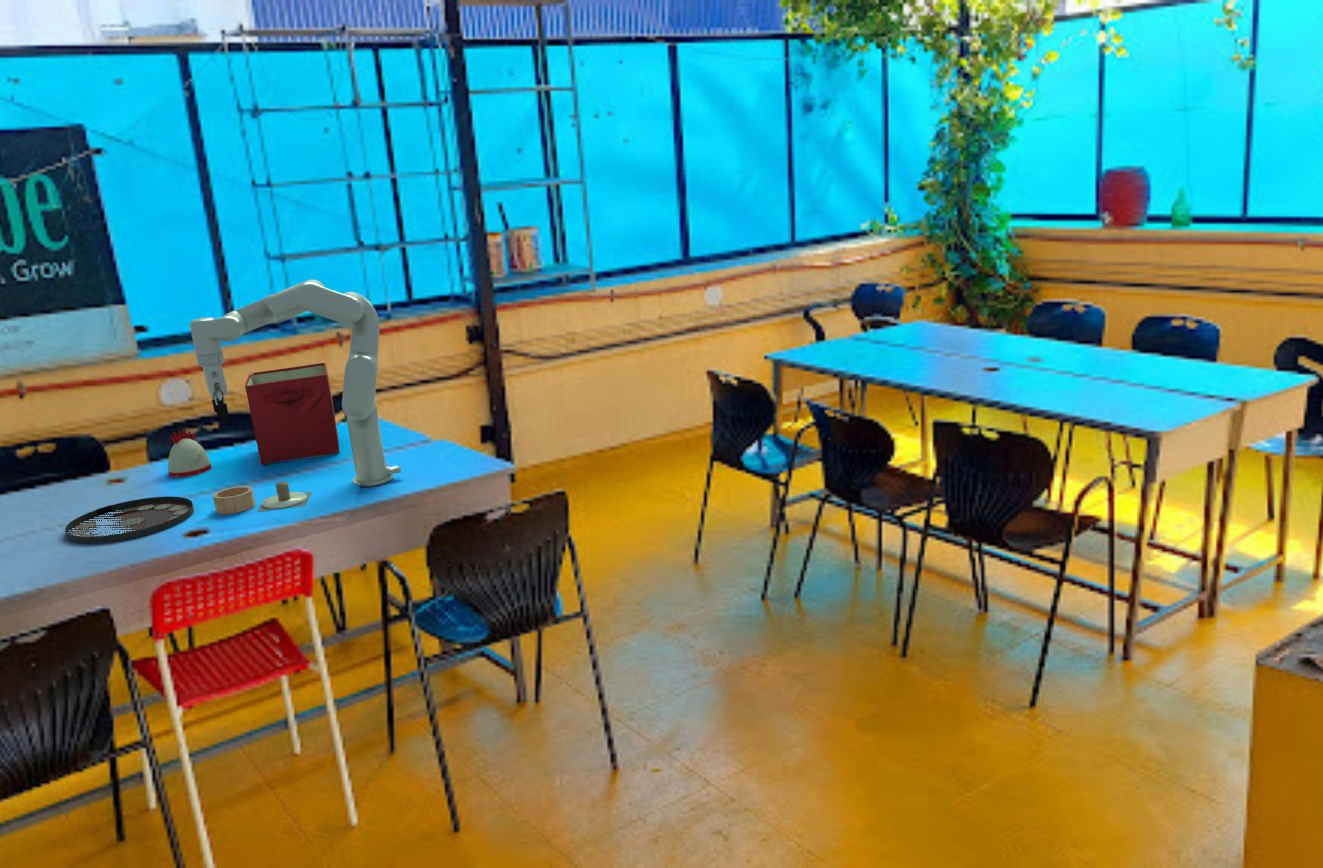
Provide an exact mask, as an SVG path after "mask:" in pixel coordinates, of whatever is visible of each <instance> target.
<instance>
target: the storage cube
mask: <svg viewBox="0 0 1323 868" xmlns="http://www.w3.org/2000/svg"><path fill="white" fill-rule="evenodd" d="M329 379H330V378H329V373H328V367H327V364H326V362H320V363H313V364H312V363H311V364H307V365H306V364H305V365H299V366H292V367H285V368H277V369H271V370H263V371H255V372H250V373H248V376H247V379H246V381H245V383H244V388H245V392H246V396H247V397H246V398H247V401H248V407H249V410H250V411H249V412H250V416H251V417H250V418H251V422H252V426H253V432H254V437H255V441H256V446H257V447H256V448H257V452H258V456H259V457H258V458H259V462H260V465H262V466H265V465H269V464H273V463H279V462H289V461H294V460H302V459H308V458H314V457H322V456H323V457H324V456H329V455H336V454H339V453H340V443H339V440H340V439H339V431H338V427H337V420H336V415H335V410H334V409H335V408H334V403H333V397H332V389H331V384H330V380H329Z"/></svg>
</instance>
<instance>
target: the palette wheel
mask: <svg viewBox="0 0 1323 868" xmlns="http://www.w3.org/2000/svg"><path fill="white" fill-rule="evenodd" d="M116 510H117V511H116ZM118 510H119V511H118ZM120 510H121V511H120ZM108 512H121V513H115V514H114V513H113V514H111V513H110V514H109V513H108ZM122 512H123V513H122ZM194 512H195V509H194V503H193V501H192V500H191V499H189V498H187V497H181V496H154V497H145V498H140V499H133V500H132V499H131V500H127V501H123V502H118V503H115V504H110V505H107V506H102V507H100V508H97V509H95V510H91V511H90V512H87V513H85V514H82V515H80V516H78V517H77V518H74V519H73V520H71V521H70V522H68V524H66V526H65V529H64V530H65V534H66V538H67V539H68V540H69V541H71V542H73V541H75V542H74V543H78V542H79V543H80V544H101V543H100V542H106V543H110V542H109V541H115V542H119V541H120V540H121V541H126V540H125V539H127V540H131V539H132V540H133V539H136V538H139V537H143V536H148V535H151V534H154V533H158V532H161V531H163V530H167V529H169V528H172V527H174V526H176V525H179V524H180V523H182V522H184V521H186V520H187V519H188V518H190V517H191V516H192V515H194V514H193V513H194ZM105 513H106V514H105ZM107 513H108V514H107ZM99 515H113V516H99ZM94 517H114V518H104V519H121V520H112V521H119V522H115V523H119V525H118V524H117V525H116V524H115V525H114V524H113V525H103V526H124V527H112V528H126V529H119V530H132V531H126V533H125V531H124V533H122V534H114V533H113V534H114V535H113V534H112V535H111V534H110V535H108V536H107V535H106V536H104V535H103V536H102V535H101V536H95V537H94V535H98V534H99V533H98V534H92V533H91V531H90V533H89V534H84V533H87V532H89V530H97V529H89V528H98V527H96V526H102V525H95V524H96V522H93V521H96V520H89V519H99V518H94ZM115 517H117V518H115ZM118 517H119V518H118ZM120 517H121V518H120ZM100 519H101V518H100ZM102 519H103V518H102ZM84 521H92V522H84ZM97 521H98V520H97ZM99 521H100V520H99ZM101 521H102V520H101ZM108 521H109V520H108ZM110 521H111V520H110ZM120 521H122V522H120ZM80 523H82V524H80ZM83 523H85V524H83ZM113 523H114V522H113ZM138 523H139V524H138ZM76 526H77V527H76ZM92 526H93V527H92ZM94 526H95V527H94ZM125 526H126V527H125ZM128 526H129V527H128ZM72 528H75V529H72ZM76 528H78V529H76ZM83 528H84V529H83ZM85 528H86V529H85ZM87 528H88V529H87ZM99 528H100V527H99ZM105 528H106V527H105ZM110 528H111V527H110ZM127 528H130V529H127ZM131 528H132V529H131ZM69 530H71V531H69ZM72 530H77V531H72ZM112 530H113V529H112ZM114 530H116V529H114ZM117 530H118V529H117ZM134 530H135V531H134ZM68 532H70V533H68ZM71 532H72V533H71ZM92 532H94V531H92ZM100 533H101V532H100ZM105 533H106V532H105ZM119 533H120V531H119ZM74 535H75V536H74ZM76 535H80V536H76Z"/></svg>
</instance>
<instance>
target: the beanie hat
mask: <svg viewBox="0 0 1323 868" xmlns="http://www.w3.org/2000/svg"><path fill="white" fill-rule="evenodd" d="M182 433H183V434H182ZM195 437H196V433H195V432H194V433H193V434H192V436H191V431H190V430H189V431H188V432H187V431H186V429H183V430H182V431H181V430H178V434H177V433H176V432H175V431H173V437H172V436H169V439H171V441H172V442H173V443H174V445H173V446H172V448H171V449H170V452H169V455H168V459H167V461H168V462H167V471H168V475H169V477H171V478H185V477H192V476H196V475H200V474H203V473H206V472H208V471H209V470H212V463H211V459H210V457H209V456H208V454H207V452H206V450H205V448H204V447H203V446H202V445H201V444H199V442H198V441H196V440H195Z"/></svg>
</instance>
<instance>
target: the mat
mask: <svg viewBox="0 0 1323 868" xmlns="http://www.w3.org/2000/svg"><path fill="white" fill-rule="evenodd" d="M304 493H305V494H307V500H305V501H304V502H302V503H300V504H297V505H294V506H291V507H286V508H279V509H268V508H264V507H263V505H262V503H261V505H260V506H259V508H258V509H257V510H256V513H260V512H269V511H275V510H283V509H291V508H292V509H293V508H299V507H306V504H307V503H308V501H309V500H310V497H311V495H312V494H313V491H309V492H304ZM270 497H271V496H270ZM270 497H269V496H268V497H265V499H264V500H266V499H267V498H270Z"/></svg>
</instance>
